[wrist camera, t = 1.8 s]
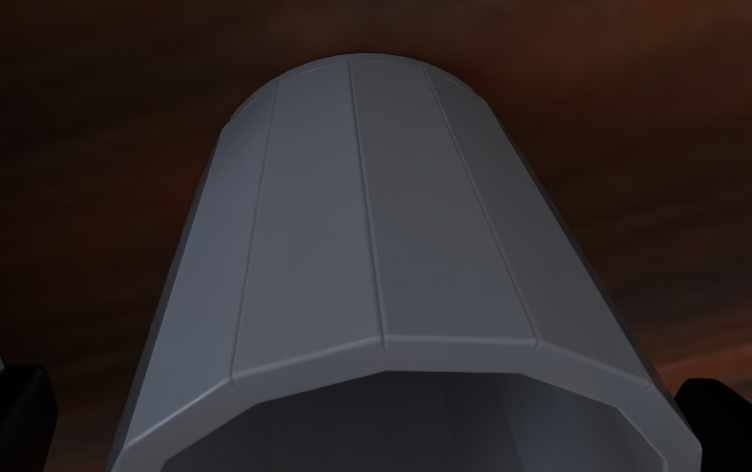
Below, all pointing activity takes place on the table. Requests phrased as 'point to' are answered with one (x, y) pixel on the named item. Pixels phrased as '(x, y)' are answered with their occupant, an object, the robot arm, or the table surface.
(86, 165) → the table surface
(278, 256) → the cup
